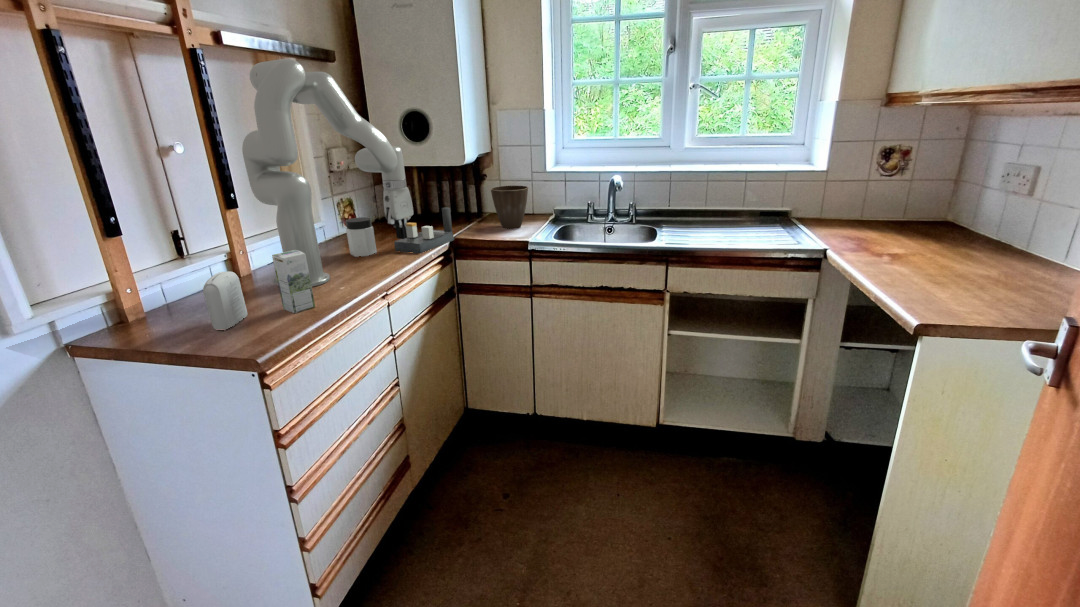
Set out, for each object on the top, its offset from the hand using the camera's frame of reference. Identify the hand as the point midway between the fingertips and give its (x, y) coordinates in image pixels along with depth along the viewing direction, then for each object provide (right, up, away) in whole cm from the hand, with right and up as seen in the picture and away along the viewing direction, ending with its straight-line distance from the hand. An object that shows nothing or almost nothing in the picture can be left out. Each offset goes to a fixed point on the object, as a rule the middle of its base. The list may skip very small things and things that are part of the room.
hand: (402, 238), depth 182 cm
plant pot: (+37, +8, +31) cm, 49 cm away
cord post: (+14, +1, +15) cm, 20 cm away
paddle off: (+9, 0, +2) cm, 9 cm away
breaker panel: (+6, -2, +8) cm, 10 cm away
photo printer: (-25, -28, -58) cm, 69 cm away
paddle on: (+2, +1, +5) cm, 6 cm away
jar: (-13, -6, 0) cm, 15 cm away
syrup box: (-13, -24, -50) cm, 57 cm away
